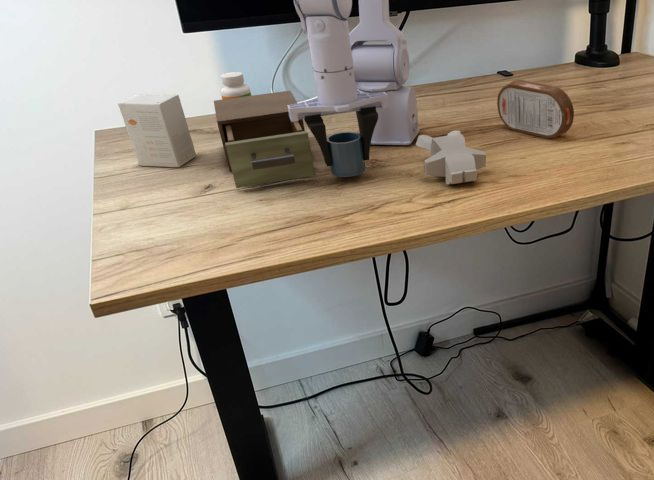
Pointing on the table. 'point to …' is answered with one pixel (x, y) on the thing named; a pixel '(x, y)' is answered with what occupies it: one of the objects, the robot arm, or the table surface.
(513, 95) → the tin
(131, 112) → the small box
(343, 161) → the cup
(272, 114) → the cabinet
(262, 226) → the table surface
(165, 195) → the table surface
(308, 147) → the drawer
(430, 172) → the grey branched angular piece
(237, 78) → the supplement bottle
